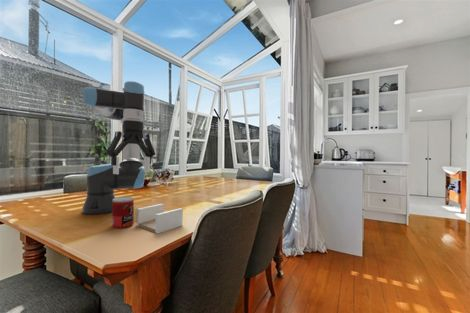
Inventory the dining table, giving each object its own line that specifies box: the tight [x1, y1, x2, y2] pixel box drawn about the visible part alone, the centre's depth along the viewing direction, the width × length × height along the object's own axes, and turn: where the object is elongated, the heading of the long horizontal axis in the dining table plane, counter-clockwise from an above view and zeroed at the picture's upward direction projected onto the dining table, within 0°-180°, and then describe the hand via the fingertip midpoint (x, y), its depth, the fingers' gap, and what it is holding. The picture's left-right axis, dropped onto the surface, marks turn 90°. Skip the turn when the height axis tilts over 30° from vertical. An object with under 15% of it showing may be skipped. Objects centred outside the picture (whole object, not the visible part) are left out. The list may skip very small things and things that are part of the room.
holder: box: [135, 203, 184, 234], centre depth 91 cm, size 14×12×7 cm
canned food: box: [111, 196, 135, 229], centre depth 90 cm, size 8×8×11 cm
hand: (132, 172), depth 90 cm, fingers open, 13 cm apart
